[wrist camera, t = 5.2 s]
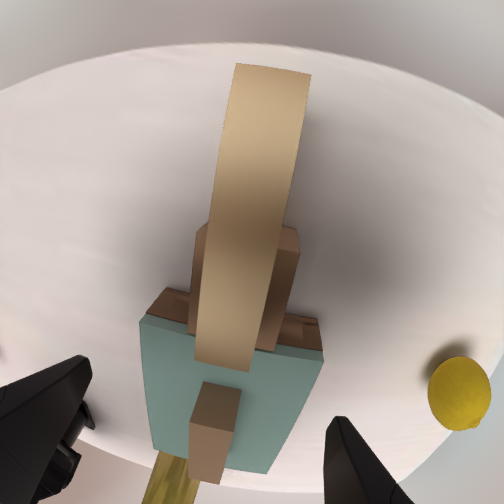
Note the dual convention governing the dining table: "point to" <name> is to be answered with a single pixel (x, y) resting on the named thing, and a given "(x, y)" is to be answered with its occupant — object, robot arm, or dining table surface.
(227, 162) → the tan rectangular bar
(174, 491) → the vase
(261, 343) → the brown box
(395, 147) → the dining table surface
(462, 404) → the lemon
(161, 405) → the lid
